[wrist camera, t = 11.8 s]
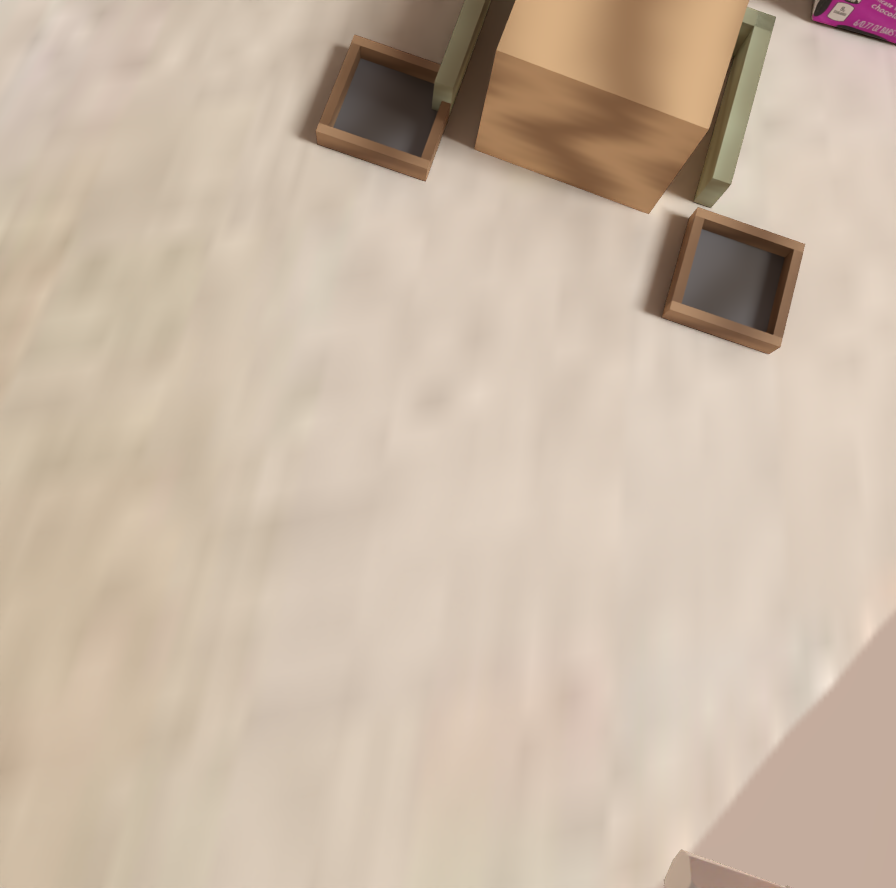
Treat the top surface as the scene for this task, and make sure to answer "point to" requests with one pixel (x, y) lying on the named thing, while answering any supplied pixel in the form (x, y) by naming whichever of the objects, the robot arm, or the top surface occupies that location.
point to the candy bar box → (859, 16)
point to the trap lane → (707, 234)
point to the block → (608, 90)
